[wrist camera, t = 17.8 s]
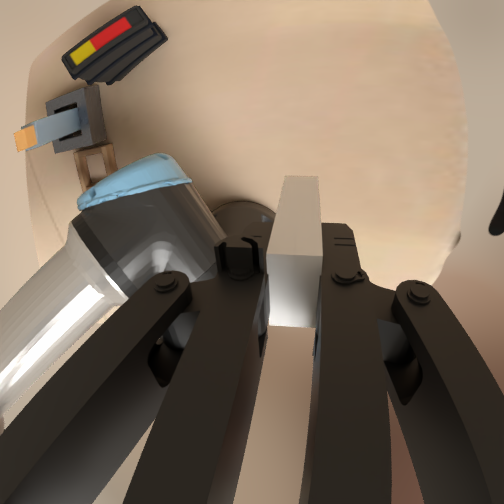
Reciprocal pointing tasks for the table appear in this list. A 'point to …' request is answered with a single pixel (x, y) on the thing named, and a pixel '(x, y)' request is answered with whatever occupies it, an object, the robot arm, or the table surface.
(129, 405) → the robot arm
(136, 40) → the magazine
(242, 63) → the table surface
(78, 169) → the brown square frame
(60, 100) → the port
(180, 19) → the table surface
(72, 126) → the plug
